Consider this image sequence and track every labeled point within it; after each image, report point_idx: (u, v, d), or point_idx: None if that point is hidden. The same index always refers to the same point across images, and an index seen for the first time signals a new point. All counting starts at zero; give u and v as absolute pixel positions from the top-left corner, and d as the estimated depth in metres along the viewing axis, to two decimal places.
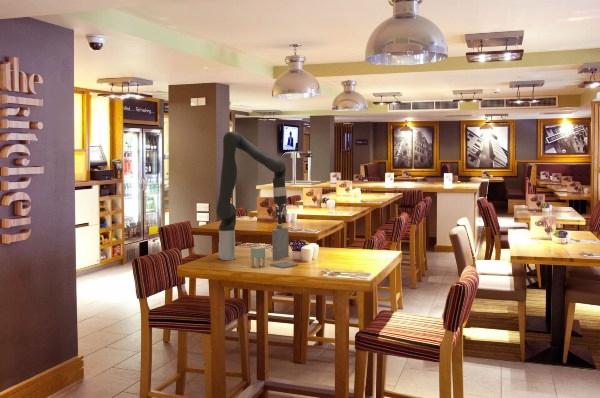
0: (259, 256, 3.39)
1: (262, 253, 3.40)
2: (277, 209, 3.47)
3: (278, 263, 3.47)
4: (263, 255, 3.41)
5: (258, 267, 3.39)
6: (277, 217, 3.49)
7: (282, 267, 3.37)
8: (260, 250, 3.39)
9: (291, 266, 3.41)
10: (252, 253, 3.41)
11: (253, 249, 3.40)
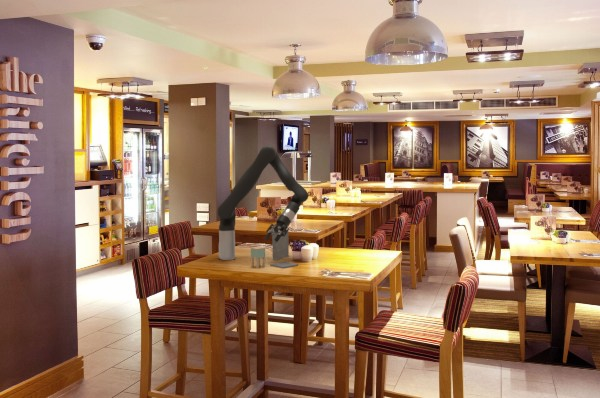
0: (259, 256, 3.39)
1: (262, 253, 3.40)
2: (286, 229, 3.46)
3: (278, 263, 3.47)
4: (263, 255, 3.41)
5: (258, 267, 3.39)
6: (279, 234, 3.44)
7: (282, 267, 3.37)
8: (260, 250, 3.39)
9: (291, 266, 3.41)
10: (252, 253, 3.41)
11: (253, 249, 3.40)
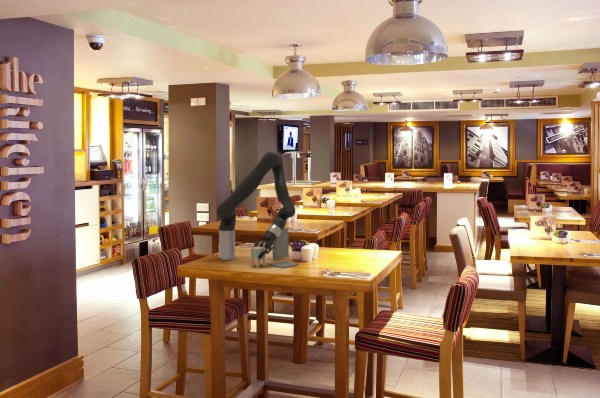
0: None
1: None
2: (270, 247, 3.39)
3: (278, 263, 3.47)
4: None
5: (258, 267, 3.39)
6: (262, 251, 3.39)
7: (282, 267, 3.37)
8: (260, 250, 3.39)
9: (291, 266, 3.41)
10: (252, 253, 3.41)
11: (253, 249, 3.40)
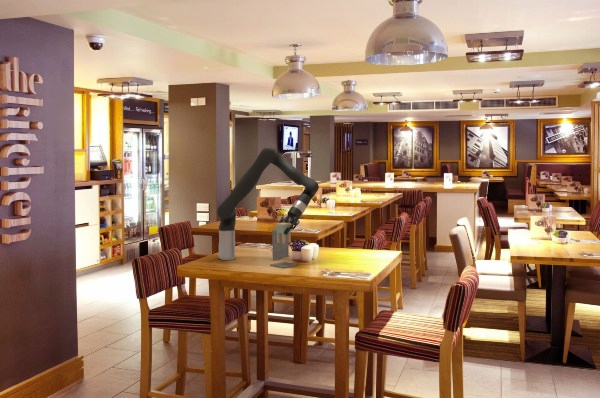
0: None
1: None
2: (296, 222, 3.40)
3: (278, 263, 3.47)
4: (289, 231, 3.42)
5: None
6: (288, 227, 3.40)
7: (282, 267, 3.37)
8: (286, 226, 3.40)
9: (291, 266, 3.41)
10: (278, 229, 3.42)
11: (279, 225, 3.41)
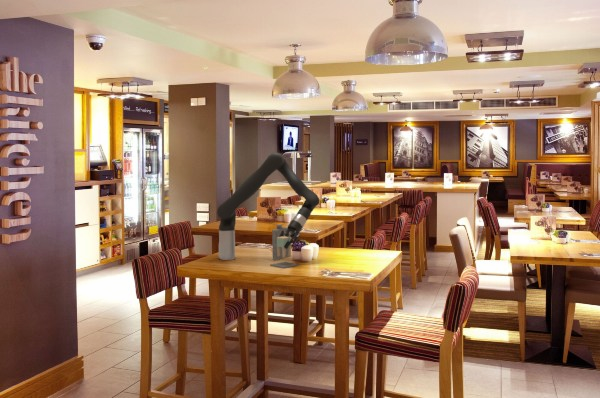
0: None
1: None
2: (296, 236, 3.41)
3: (278, 263, 3.47)
4: None
5: (284, 256, 3.41)
6: (288, 241, 3.40)
7: (282, 267, 3.37)
8: (286, 239, 3.41)
9: (291, 266, 3.41)
10: (278, 243, 3.42)
11: (279, 238, 3.41)
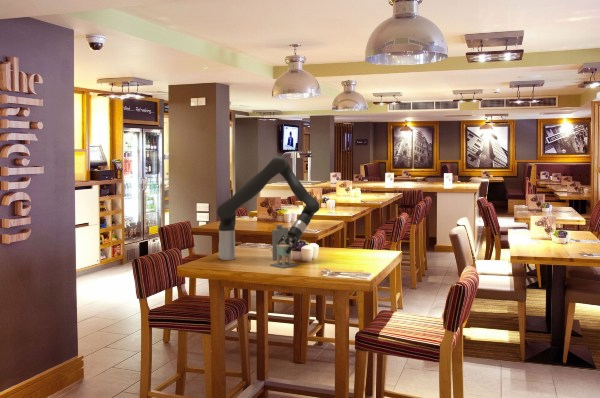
0: (285, 254, 3.41)
1: None
2: (298, 241, 3.41)
3: None
4: (289, 253, 3.43)
5: (284, 264, 3.41)
6: (290, 246, 3.40)
7: (282, 267, 3.37)
8: (286, 248, 3.41)
9: (291, 266, 3.41)
10: (278, 251, 3.43)
11: (279, 247, 3.42)
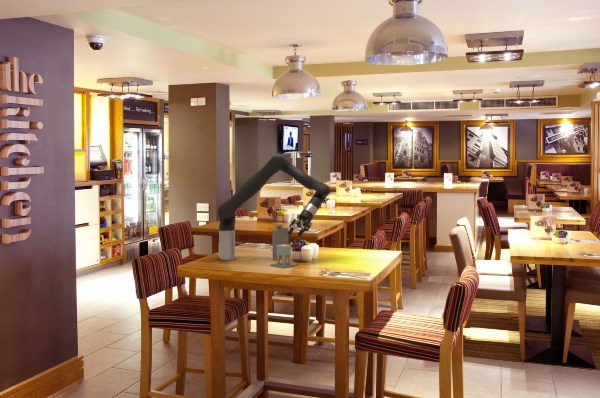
0: (285, 254, 3.41)
1: (288, 251, 3.42)
2: (309, 224, 3.46)
3: None
4: (289, 253, 3.43)
5: (284, 264, 3.41)
6: (302, 229, 3.45)
7: (282, 267, 3.37)
8: (286, 248, 3.41)
9: (291, 266, 3.41)
10: (278, 251, 3.43)
11: (279, 247, 3.42)
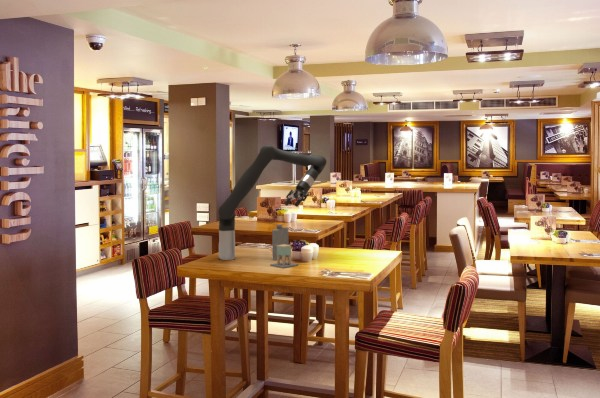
0: (285, 254, 3.41)
1: (288, 251, 3.42)
2: (306, 194, 3.51)
3: None
4: (289, 253, 3.43)
5: (284, 264, 3.41)
6: (299, 199, 3.50)
7: (282, 267, 3.37)
8: (286, 248, 3.41)
9: (291, 266, 3.41)
10: (278, 251, 3.43)
11: (279, 247, 3.42)
